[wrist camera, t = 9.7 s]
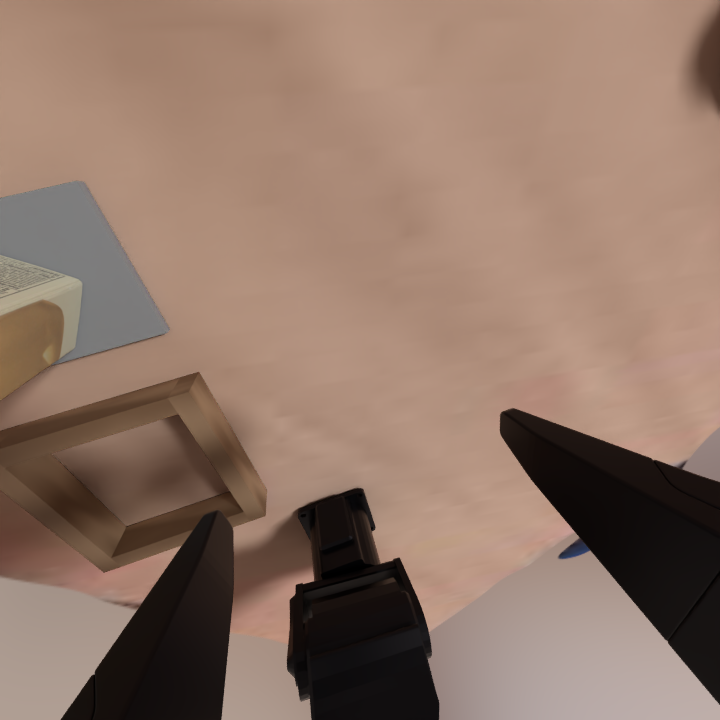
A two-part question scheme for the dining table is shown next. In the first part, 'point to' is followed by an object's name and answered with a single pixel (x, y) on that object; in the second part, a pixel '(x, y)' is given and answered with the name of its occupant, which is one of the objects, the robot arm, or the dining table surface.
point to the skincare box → (34, 320)
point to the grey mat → (81, 263)
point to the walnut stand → (84, 511)
